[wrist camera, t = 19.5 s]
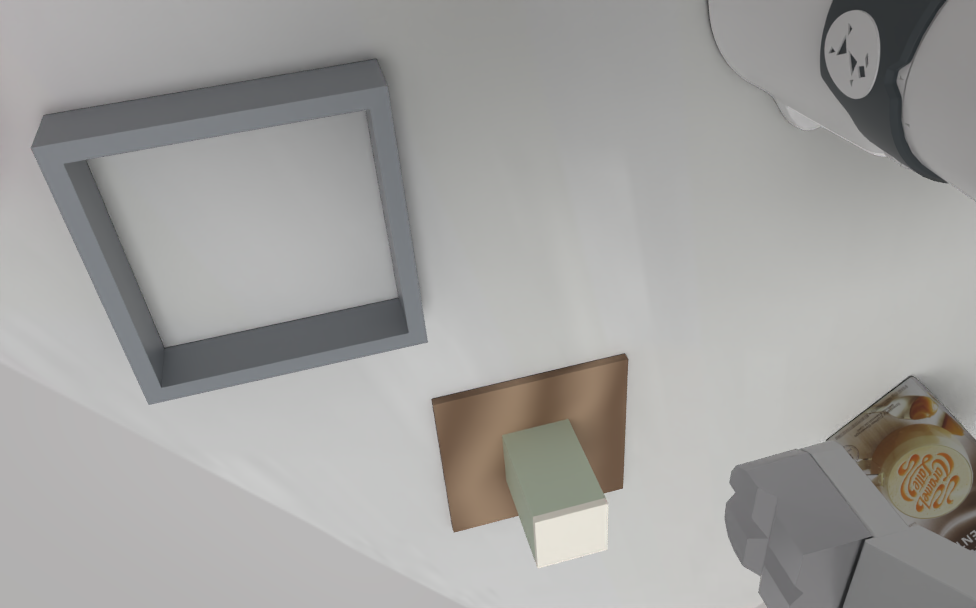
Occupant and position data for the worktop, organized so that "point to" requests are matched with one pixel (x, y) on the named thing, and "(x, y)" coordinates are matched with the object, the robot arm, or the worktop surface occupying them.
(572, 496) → the sage block
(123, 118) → the frame
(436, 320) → the worktop surface
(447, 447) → the walnut pad
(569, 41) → the worktop surface
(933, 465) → the coffee box
